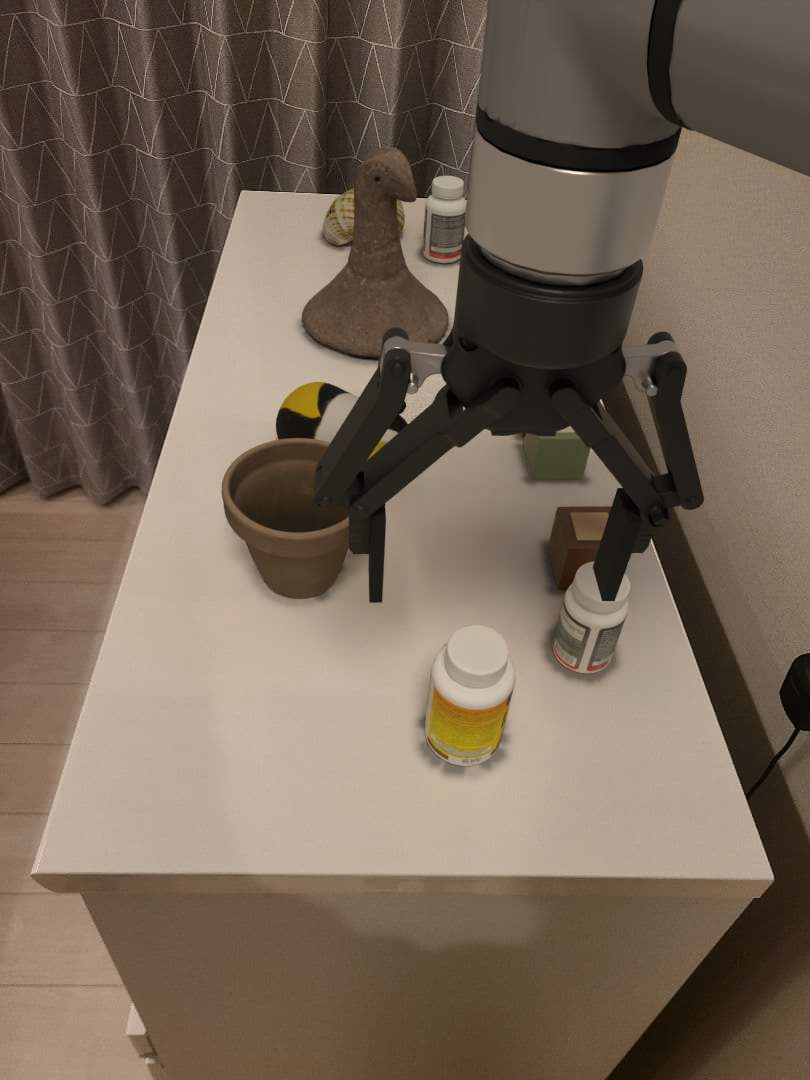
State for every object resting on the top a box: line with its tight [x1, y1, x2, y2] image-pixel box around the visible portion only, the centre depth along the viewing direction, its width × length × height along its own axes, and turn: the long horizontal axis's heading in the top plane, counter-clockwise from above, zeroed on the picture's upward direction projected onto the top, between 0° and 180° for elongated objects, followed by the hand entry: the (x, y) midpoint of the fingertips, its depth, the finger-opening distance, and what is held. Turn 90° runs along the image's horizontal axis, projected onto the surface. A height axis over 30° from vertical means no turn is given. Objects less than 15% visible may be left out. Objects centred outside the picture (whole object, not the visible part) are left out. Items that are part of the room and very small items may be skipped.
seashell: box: [322, 187, 406, 246], centre depth 112 cm, size 10×10×10 cm
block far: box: [523, 426, 591, 480], centre depth 80 cm, size 5×5×5 cm
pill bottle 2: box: [551, 562, 632, 674], centre depth 63 cm, size 5×5×8 cm
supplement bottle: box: [424, 624, 517, 767], centre depth 56 cm, size 6×6×10 cm
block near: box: [547, 505, 612, 591], centre depth 70 cm, size 5×5×5 cm
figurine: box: [275, 381, 409, 460], centre depth 78 cm, size 8×15×8 cm, turn 64°
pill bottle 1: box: [422, 175, 467, 264], centre depth 108 cm, size 5×5×10 cm
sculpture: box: [301, 145, 449, 359], centre depth 92 cm, size 17×17×20 cm
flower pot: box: [221, 438, 350, 599], centre depth 67 cm, size 12×11×10 cm
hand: (490, 585), depth 49 cm, fingers open, 13 cm apart
